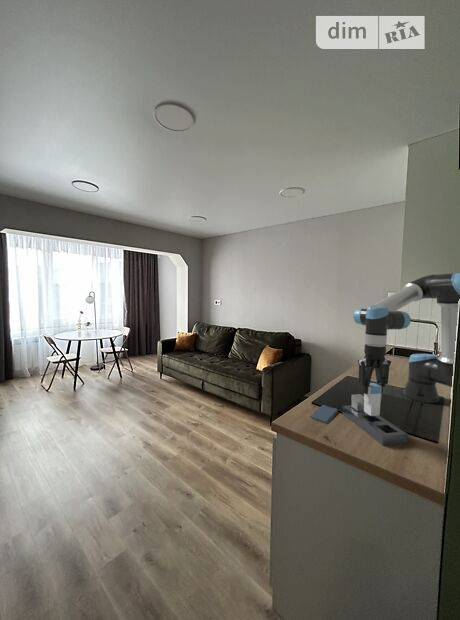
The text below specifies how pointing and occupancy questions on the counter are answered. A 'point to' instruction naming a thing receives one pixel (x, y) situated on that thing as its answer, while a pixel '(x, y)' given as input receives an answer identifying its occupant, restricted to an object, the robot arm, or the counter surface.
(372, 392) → the plug
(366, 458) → the counter surface
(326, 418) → the smartphone
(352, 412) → the slotted peg board
